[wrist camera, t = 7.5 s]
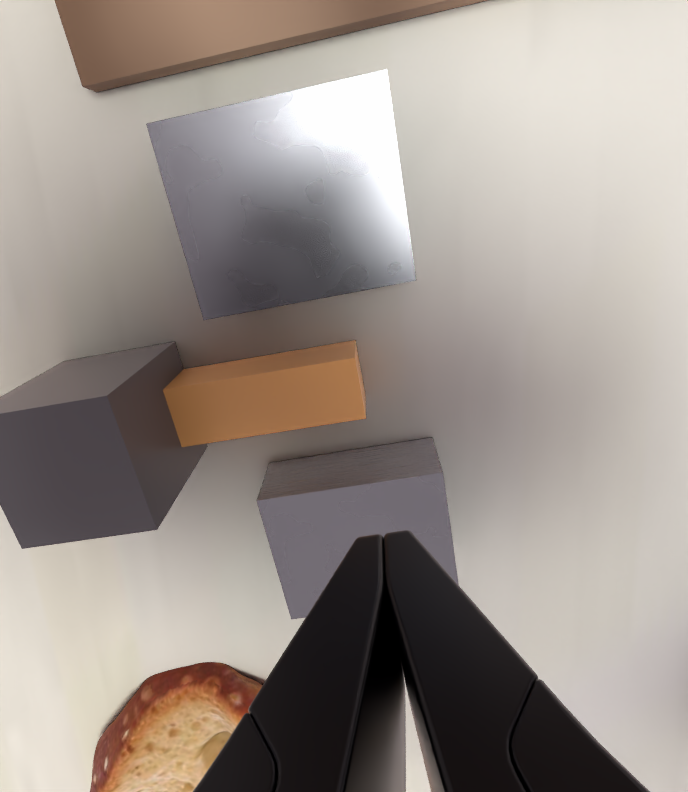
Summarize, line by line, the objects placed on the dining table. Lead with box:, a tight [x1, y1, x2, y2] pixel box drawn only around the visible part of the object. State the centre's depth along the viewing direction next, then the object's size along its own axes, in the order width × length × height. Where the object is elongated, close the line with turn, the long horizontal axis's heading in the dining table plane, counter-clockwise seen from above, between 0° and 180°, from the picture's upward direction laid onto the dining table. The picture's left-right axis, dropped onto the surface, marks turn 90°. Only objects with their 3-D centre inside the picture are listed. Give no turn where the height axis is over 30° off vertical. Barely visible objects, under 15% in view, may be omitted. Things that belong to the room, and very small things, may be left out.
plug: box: [0, 340, 366, 549], centre depth 16 cm, size 10×4×5 cm, turn 100°
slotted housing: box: [147, 69, 459, 619], centre depth 16 cm, size 6×16×2 cm, turn 11°
